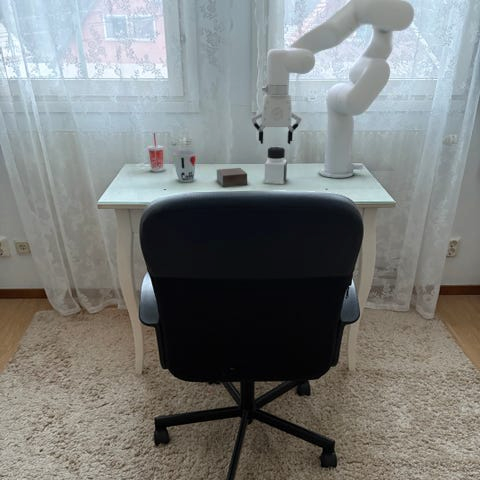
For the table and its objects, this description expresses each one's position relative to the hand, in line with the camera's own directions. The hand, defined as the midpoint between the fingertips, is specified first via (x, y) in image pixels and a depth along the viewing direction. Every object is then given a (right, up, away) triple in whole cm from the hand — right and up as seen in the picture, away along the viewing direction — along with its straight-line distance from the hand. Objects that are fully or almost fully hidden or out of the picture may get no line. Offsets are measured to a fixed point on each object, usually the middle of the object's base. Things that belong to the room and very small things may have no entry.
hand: (275, 143), depth 182 cm
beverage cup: (-45, -3, +22) cm, 50 cm away
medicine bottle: (+1, -12, +7) cm, 14 cm away
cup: (-32, -11, +9) cm, 35 cm away
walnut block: (-15, -12, +6) cm, 21 cm away
